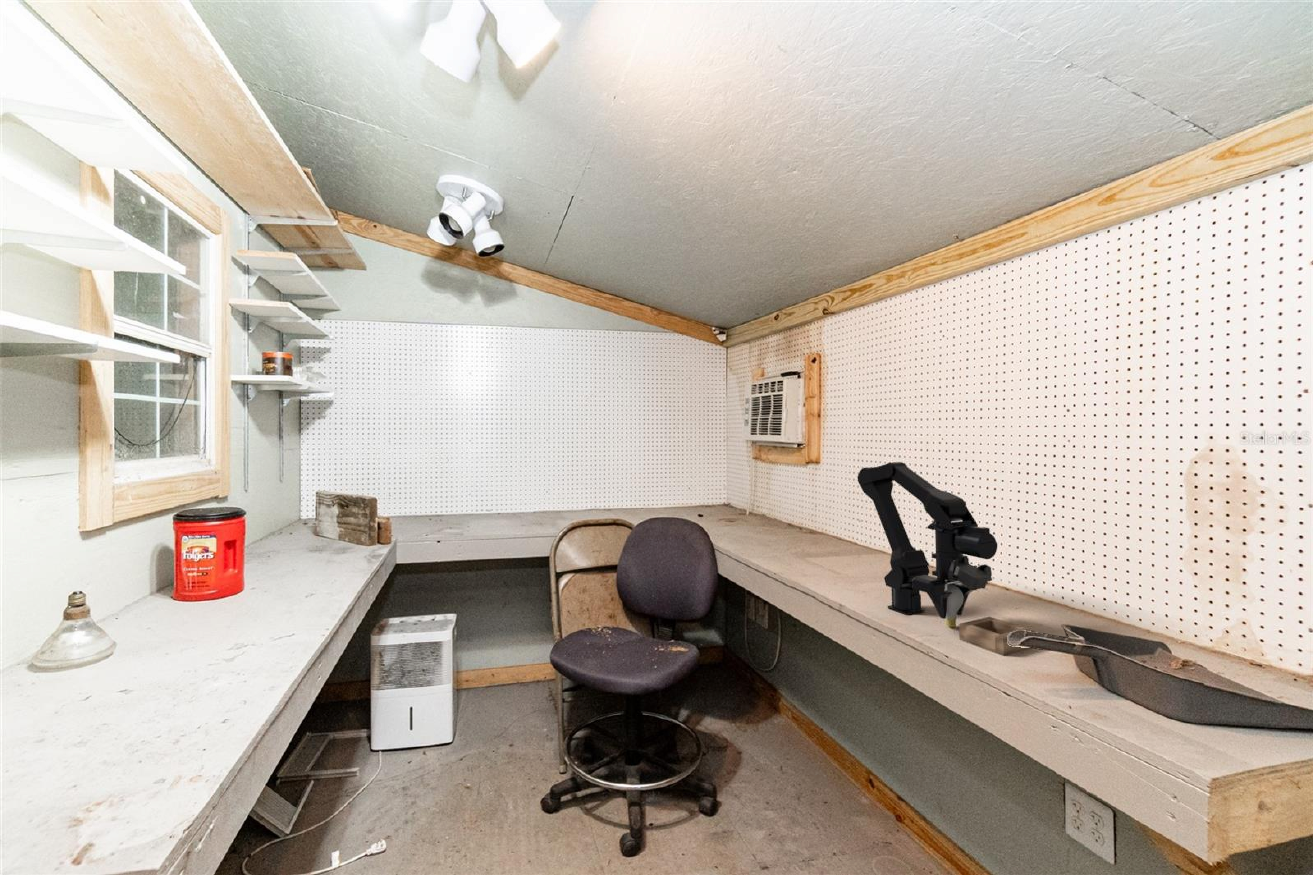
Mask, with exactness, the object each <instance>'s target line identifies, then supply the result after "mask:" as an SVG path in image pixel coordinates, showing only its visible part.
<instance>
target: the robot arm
mask: <svg viewBox="0 0 1313 875" xmlns="http://www.w3.org/2000/svg"><path fill="white" fill-rule="evenodd" d="M856 477H857V482H858V484H859V486H860V488H861V490H862V492H863V493H864V494H865V495H866V496H867V497H868V498H870V499H871V500H872V502H873V505H874V507H875V509H876V513H877V515H878V517H879V520H880V523H881V526H882V528H883V531H884V534H885V536H886V538H887V540H888V544H889V546H890V549H891V555H890V560H889V564H890V567H891V570H889V572H888V573H886V575H885V576H884V577H883V579H884V582H885V585H886V587H889V588H891V605H887V609H889V610H893V611H896V612H899V613H900V614H904V615H907V616H908V615H913V614H917V613H921V612H922V613H923V612H925V611H926V610H925V608H924V607H923V608H922V597H921V596H922V594H921V593H920V592H924V593H926V594H927V595H928V597H929V599H930V600H931V602H932V603H933V605H934V608H935V610H936V611H937V613H938V615H939V617H940V618H941V619H942V620H944V619H945V620H946V613H947V597H948V596H949V595H951V594H952V592H949V591H947V585H953V586H956V587H958V588H959V589H960V590H961V591H962V593H963V596H964V601H963V604H962V605H961V607H960V608H959V610H958V611H957V614H956V616H961V615H962V614H963V610H964V608H965V605H966V604H967V599H968V597H969V595H970V594H971V593H972V592H973V591H978V590H980V589H982V590H983V589H986V586H987V585H988V582H992V581H993V576H992V575H993V573H992V567H991V566H989V565H987V564H986V563H985V564H980V565H972V564H970V562H969V561H970V560H969V556H970V557H974V558H979V559H982V560H990V559H992V558H993V557H995V555H996V553H997V550H998V542H997V539H996V538H995V536H994V535H993V534H992V533H990V532H991V530H990V528H989V527H985V526H981V527H980V526H979V525H978V523H977V521H976V520H975V518H974V516H973V515H972V513H971V512H970V510H969V508H968V506H967V503H966V501H965V500H964V499H963V498H961V497H959V496H957V495H955V494H953V493H951V492H948V491H945V490H941V489H938V488H937V487H935V486H934V485H932V483H930V482H929V481H927V480H926V479H925V478H923V477H921V476H920V475H919V474H917V472H915V471H913V470H912V469H911V468H909V467H908V465H907V464H906V463H905V462H903V461H893V462H887V463H885V464H883V465H879V466H878V465H877V466H873V467H872V466H871V467H870V466H869V467H863V468H861V469H860V470H859V472H858V475H857V476H856ZM893 482H895V483H897V484H898V485H899V486H901V487H902V489H904V490H906V491H907V492H908V493H909V494H911V495H912V496H913V497H915V498H916V499H917V500H918V501H920V502H921V503H922V506H923V508H924V511H925V512H926V513H927V514H928V516H930V518H931V519H932V520H933V521H932V523H930V524H929V525H928V526H927V530H932V531H935V532H934V536H935V538H934V540H935V543H934V544H935V553H931V558H932V559H934V560H935V569H934V570H932V571H931V575H929V574H930V568H929V566H930V563H929V562H928V560H927V558H926V554H925V552H924V551H923V549H916V548H915V547H914V546H913V545H912V544H911V541H910V538H909V536H908V534H907V532H906V529H905V526H904V524H903V521H902V518H901V516H900V514H899V511H898V509H897V505H896V503H895V500H894V499H893V496H892V492H893V489H894V488H893V487H894V483H893ZM934 576H935V577H934Z"/></svg>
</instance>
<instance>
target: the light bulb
mask: <svg viewBox="0 0 1313 875" xmlns="http://www.w3.org/2000/svg"><path fill="white" fill-rule="evenodd" d="M947 591H949V592H952V594H951V595H949V596H948V597H947V613H946V619H945V623H946V626H948V627H949V628H951V629H952V628H954V627H956V626H957V611H958V610H959V608H960V607H961V605H962V604H963V601H964V596H963V593H962V591H961V590H960V589H959V588H958V587H956V586H953V585H947Z"/></svg>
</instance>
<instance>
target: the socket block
mask: <svg viewBox="0 0 1313 875" xmlns="http://www.w3.org/2000/svg"><path fill="white" fill-rule="evenodd" d="M1016 630H1026V631H1031V632H1034V633H1035V630H1034V629H1031V628H1027V627H1024V626H1021V625H1018V624H1015V623H1011V622H1007V621H1006V620H1005V621H1004V620H1002V619H998V618H996V617H992V616H987V617H983V618H978V619H974V620H970V621H966V622H961V623H958V632H959V640H960V641H962V642H965V641H966V642H965V643H968V642H969V643H968V644H970V643H971V644H970V645H973V646H976V647H978V646H979V647H978V648H981V647H982V649H984V650H987V651H989V650H990V652H992V653H995V654H998V655H1000V656H1004V657H1005V656H1008V655H1012V654H1015V653H1019V652H1022V651H1026V650H1028V649H1029V650H1030V648H1021V647H1012V646H1009V645H1008V644H1007V635H1008V634H1009V633H1010V632H1013V631H1016Z"/></svg>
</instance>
